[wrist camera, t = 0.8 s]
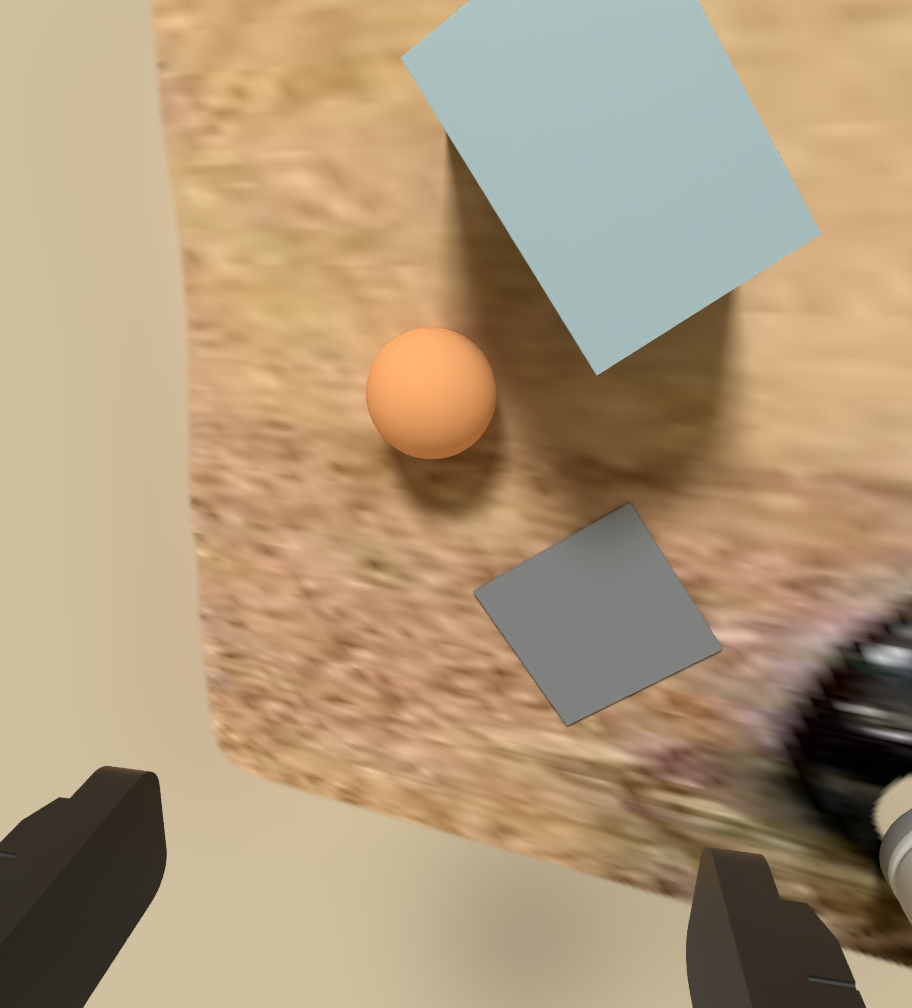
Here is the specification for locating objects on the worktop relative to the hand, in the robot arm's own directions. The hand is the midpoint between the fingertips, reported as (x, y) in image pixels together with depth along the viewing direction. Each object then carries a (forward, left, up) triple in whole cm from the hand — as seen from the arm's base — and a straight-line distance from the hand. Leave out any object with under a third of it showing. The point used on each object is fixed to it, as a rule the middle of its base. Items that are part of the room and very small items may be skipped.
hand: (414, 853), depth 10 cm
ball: (0, -5, -19) cm, 19 cm away
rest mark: (0, +8, -21) cm, 23 cm away
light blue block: (-9, -8, -21) cm, 24 cm away
